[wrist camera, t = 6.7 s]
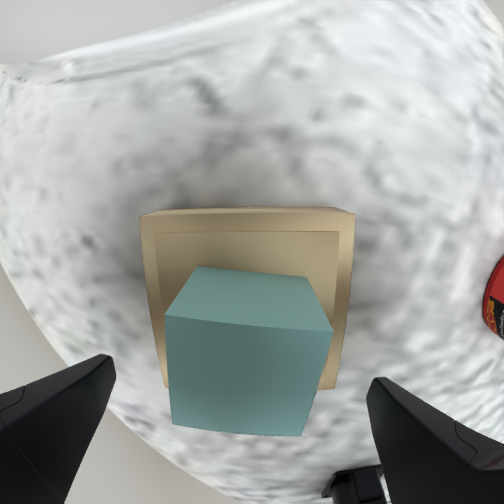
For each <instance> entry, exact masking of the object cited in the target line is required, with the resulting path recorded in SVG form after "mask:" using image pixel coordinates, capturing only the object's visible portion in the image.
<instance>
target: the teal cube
mask: <svg viewBox="0 0 504 504" xmlns="http://www.w3.org/2000/svg"><path fill="white" fill-rule="evenodd" d="M164 315H165V341H166V359H167V373H168V385H169V396H170V405H171V414H172V423H173V424H174V425H180V426H185V427H191V428H197V429H204V430H211V431H219V432H227V433H237V434H250V435H267V436H301V435H302V432H303V429H304V427H305V424H306V421H307V418H308V415H309V412H310V409H311V406H312V403H313V400H314V397H315V394H316V391H317V388H318V384H319V381H320V378H321V375H322V371H323V368H324V364H325V361H326V357H327V354H328V350H329V346H330V343H331V339H332V335H333V329H332V327H331V325H330V323H329V321H328V319H327V317H326V315H325V313H324V311H323V309H322V307H321V304H320V302H319V300H318V298H317V296H316V294H315V292H314V291H313V289H312V287H311V285H310V283H309V281H308V279H307V277H301V276H290V275H280V274H270V273H260V272H250V271H240V270H230V269H221V268H212V267H203V266H197V267H196V269H195V270H194V272H193V273H192V275H191V276H190V277H189V279H188V280H187V282H186V283H185V285H184V286H183V288H182V289H181V291H180V292H179V294H178V295H177V297H176V298H175V299H174V301H173V302H172V304H171V305H170V307H169V308H168V310H167V311H166V313H165V314H164Z"/></svg>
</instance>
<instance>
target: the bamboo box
mask: <svg viewBox="0 0 504 504" xmlns="http://www.w3.org/2000/svg"><path fill="white" fill-rule="evenodd" d="M139 218H140V232H141V244H142V254H143V264H144V273H145V281H146V288H147V296H148V302H149V309H150V315H151V321H152V327H153V333H154V338H155V343H156V348H157V353H158V358H159V363H160V368H161V372H162V376H163V381H164V385H165V388H169V385H168V373H167V359H166V341H165V315H164V314H165V313H166V311H167V310H168V308H169V307H170V305H171V304H172V302H173V301H174V299H175V298H176V297H177V295H178V294H179V292H180V291H181V289H182V288H183V286H184V285H185V283H186V282H187V280H188V279H189V277H190V276H191V275H192V273H193V272H194V270H195V269H196V267H197V266H203V267H212V268H221V269H230V270H240V271H250V272H260V273H270V274H280V275H290V276H301V277H307V279H308V281H309V283H310V285H311V287H312V289H313V291H314V292H315V294H316V296H317V298H318V300H319V302H320V304H321V307H322V309H323V311H324V313H325V315H326V317H327V319H328V321H329V323H330V325H331V327H332V329H333V335H332V339H331V343H330V346H329V350H328V354H327V357H326V361H325V364H324V368H323V371H322V375H321V378H320V381H319V384H318V388H317V390H327V389H335V384H336V379H337V374H338V369H339V363H340V358H341V352H342V345H343V339H344V332H345V325H346V318H347V310H348V302H349V293H350V284H351V273H352V262H353V248H354V231H355V214H353V213H350V212H347V211H344V210H341V209H338V208H335V207H216V208H185V209H163V210H160V211H156V212H153V213H150V214H146V215H143V216H140V217H139Z"/></svg>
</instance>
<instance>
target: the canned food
mask: <svg viewBox="0 0 504 504" xmlns="http://www.w3.org/2000/svg"><path fill="white" fill-rule="evenodd" d="M483 314H484V319H485V321H486V323H487V325H488V326H489V328H490V329H491V330H492V331H493V332H494V333H495V334H497V335H498V336H499V337H500V338H502V339H503V340H504V257H503V258H502V259H501V261H500V262H499V264H498V265H497V266H496V268H495V270H494V272H493V274H492V276H491V278H490V280H489V283H488V286H487V289H486V293H485V297H484V304H483Z"/></svg>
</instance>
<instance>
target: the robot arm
mask: <svg viewBox="0 0 504 504" xmlns="http://www.w3.org/2000/svg"><path fill="white" fill-rule="evenodd" d="M115 381H116V371H115V367H114V362H113V358H112V357H111V356H109V355H105V354H99V355H97V356H94V357H92V358H90V359H87V360H85V361H83V362H80V363H78V364H76V365H73V366H71V367H69V368H66V369H64V370H61V371H59V372H57V373H54V374H52V375H49V376H47V377H44V378H42V379H40V380H37V381H34V382H32V383H30V384H27V385H26V386H22V387H19V388H17V389H14V390H11V391H8V392H5V393H2V394H0V504H64V501H65V500H66V497H67V495H68V492H69V490H70V488H71V485H72V483H73V480H74V478H75V476H76V473H77V471H78V469H79V466H80V464H81V462H82V459H83V457H84V455H85V453H86V450H87V448H88V446H89V444H90V442H91V440H92V437H93V435H94V433H95V431H96V429H97V427H98V425H99V423H100V421H101V418H102V416H103V414H104V412H105V409H106V406H107V403H108V400H109V398H110V395H111V392H112V389H113V386H114V384H115ZM366 402H367V407H368V412H369V418H370V423H371V429H372V434H373V438H374V441H375V445H376V448H377V452H378V455H379V459H380V462H381V465H380V466H375V467H370V468H364V469H358V470H351V471H344V472H338V473H336V474H335V475H334V476H333V478H332V479H331V481H330V483H329V484H328V486H327V487H326V489H325V490H324V492H323V493H322V498H329V497H332V500H333V504H387V501H386V498H385V493H384V490H383V487H382V484H381V481H380V477H381V476H382V475H383V473H384V477H385V480H386V484H387V488H388V492H389V496H390V500H391V504H504V444H502V443H500V442H498V441H495V440H493V439H491V438H489V437H486V436H484V435H482V434H480V433H478V432H476V431H474V430H472V429H470V428H468V427H466V426H465V425H463V424H461V423H459V422H458V421H456V420H455V421H454V419H453V418H451V417H449V416H448V415H446V414H444V413H443V412H441V411H439V410H438V409H436V408H434V407H433V406H431V405H429V404H428V403H426V402H424V401H423V400H421V399H420V398H418V397H416V396H415V395H413V394H412V393H410V392H408V391H407V390H405V389H404V388H402V387H400V386H399V385H397V384H396V383H394V382H392V381H391V380H389V379H388V378H386V377H376V378H374V379H373V381H372V383H371V386H370V388H369V391H368V393H367V396H366Z"/></svg>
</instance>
